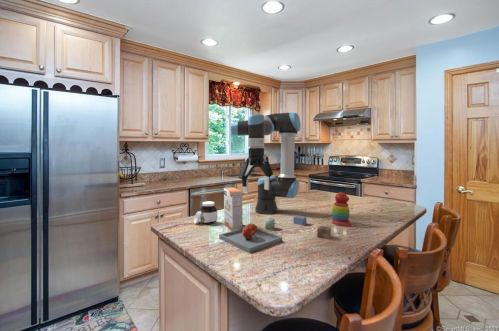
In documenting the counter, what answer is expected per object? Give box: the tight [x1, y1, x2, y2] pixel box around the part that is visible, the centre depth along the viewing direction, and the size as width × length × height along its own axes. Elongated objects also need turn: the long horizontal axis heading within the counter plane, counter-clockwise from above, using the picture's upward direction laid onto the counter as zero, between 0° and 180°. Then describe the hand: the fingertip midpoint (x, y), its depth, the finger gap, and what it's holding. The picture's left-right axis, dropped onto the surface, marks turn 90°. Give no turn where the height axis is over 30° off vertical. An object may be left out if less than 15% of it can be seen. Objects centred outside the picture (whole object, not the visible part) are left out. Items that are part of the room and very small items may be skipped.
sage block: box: [264, 217, 276, 231], centre depth 140 cm, size 5×5×5 cm
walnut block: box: [316, 225, 332, 240], centre depth 127 cm, size 5×5×4 cm
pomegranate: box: [242, 223, 259, 240], centre depth 123 cm, size 7×7×10 cm
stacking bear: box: [331, 191, 353, 228], centre depth 148 cm, size 11×10×18 cm
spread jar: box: [193, 200, 218, 225], centre depth 149 cm, size 12×11×12 cm
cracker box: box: [223, 186, 244, 231], centre depth 140 cm, size 14×6×21 cm, turn 23°
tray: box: [218, 227, 283, 254], centre depth 123 cm, size 22×20×2 cm
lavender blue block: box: [293, 215, 307, 226], centre depth 148 cm, size 6×4×4 cm, turn 50°
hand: (256, 191), depth 127 cm, fingers open, 13 cm apart
